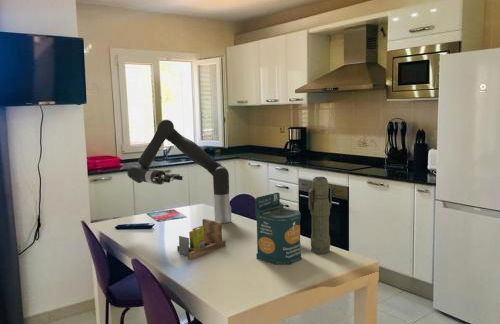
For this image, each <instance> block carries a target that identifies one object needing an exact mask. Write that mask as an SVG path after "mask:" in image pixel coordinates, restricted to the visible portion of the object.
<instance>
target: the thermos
mask: <svg viewBox="0 0 500 324" xmlns="http://www.w3.org/2000/svg"><path fill="white" fill-rule="evenodd" d="M332 192H333V191H332V187H331V186H330V185H329V181H328V178H327V177H326V176H314V177H313V178H312V181H311V188H309V189H308V191H307V193H308V194H307V195H308V202H307V203H308V208H307V209H308V211H310V215H311V236H310V247H311V248H310V252H311V253H313V254H316V255H326V254H327V255H328V254H330V252H331V251H330V250H331V249H330V247H331V236H330V215H331V208H332V203H333V202H332V197H333V196H332Z"/></svg>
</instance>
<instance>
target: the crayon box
mask: <svg viewBox="0 0 500 324" xmlns="http://www.w3.org/2000/svg"><path fill="white" fill-rule="evenodd" d="M188 234H189V237H188V238H189V247H190V248H194V249H200V248H203V247H205V244H204V228H203V225H200V226H197V227H194V228H192V230H191V231H189V232H188Z"/></svg>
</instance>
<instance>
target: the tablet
mask: <svg viewBox="0 0 500 324" xmlns="http://www.w3.org/2000/svg"><path fill="white" fill-rule="evenodd" d="M146 215H148V217H150V218H152V219H153V220H155V221H156V222H157V223H159V222H160V223H161V222H165V221H167V222H168V221H173V220H179V219H185V218H187V216H186V215H184V214H183V213H181V212H180V211H177V210H176V209H167V210H166V209H165V210H160V211H152V212H146Z"/></svg>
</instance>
